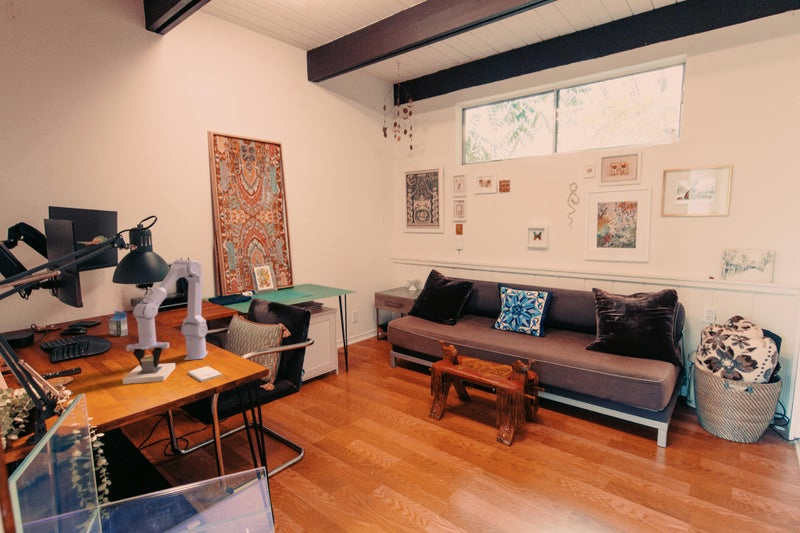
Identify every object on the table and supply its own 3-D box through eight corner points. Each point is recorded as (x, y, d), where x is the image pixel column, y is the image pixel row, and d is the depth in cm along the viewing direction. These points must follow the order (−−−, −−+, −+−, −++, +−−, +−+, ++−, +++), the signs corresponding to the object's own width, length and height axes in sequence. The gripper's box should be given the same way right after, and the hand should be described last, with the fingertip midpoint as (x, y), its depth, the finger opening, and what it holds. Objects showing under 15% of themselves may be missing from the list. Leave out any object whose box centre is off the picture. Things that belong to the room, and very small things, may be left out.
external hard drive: (208, 369, 169) (222, 377, 161) (188, 375, 163) (201, 383, 155) (208, 365, 169) (222, 373, 160) (187, 371, 162) (201, 379, 154)
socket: (138, 370, 166) (137, 365, 166) (175, 367, 169) (175, 362, 169) (122, 384, 152) (122, 378, 152) (163, 380, 155) (163, 375, 155)
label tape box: (109, 335, 214) (107, 312, 213) (116, 333, 218) (114, 310, 216) (121, 336, 211) (119, 313, 210) (128, 334, 215) (126, 312, 214)
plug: (146, 372, 162) (144, 355, 161) (158, 371, 163) (156, 354, 162) (142, 376, 158) (140, 359, 157) (154, 375, 159) (152, 358, 158)
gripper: (121, 337, 153) (124, 372, 155) (163, 335, 156) (166, 369, 158) (129, 332, 160) (132, 365, 162) (170, 330, 163) (172, 362, 165)
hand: (149, 366), depth 160 cm, fingers closed on plug, 4 cm apart
